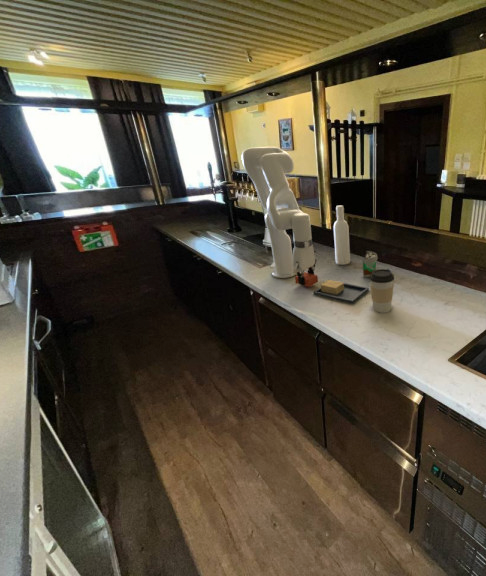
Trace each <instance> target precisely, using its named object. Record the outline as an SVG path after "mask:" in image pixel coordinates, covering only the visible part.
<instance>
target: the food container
mask: <svg viewBox="0 0 486 576" xmlns="http://www.w3.org/2000/svg"><path fill="white" fill-rule="evenodd" d="M378 259H379V257H378V254H377V253H376V252H374V251H370V250H366V253H365V255H364V258H362V273H363V278H370V275H371V274H372V273H373V271H375V270H377V261H378Z"/></svg>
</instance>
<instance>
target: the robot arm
mask: <svg viewBox="0 0 486 576" xmlns="http://www.w3.org/2000/svg"><path fill="white" fill-rule="evenodd" d="M241 161H242V166H243V168H244V171H245V173H246V174H247V176H248V177H249V179H250V180H251V181H252V183H253V185H254V189H255V191H256V194H257V196H258V198H259V201H260V204H261V206H262V207H263V208H264V209H265V210H267V212H266V214H265V215H264V222H265V226H266V229H267V232H268V237H269V241H270V247H271V254H272V259H273V262H272V263H271V264H270V266H269V267H270V269H273V271H272V277H274V278H276V279H288V278H292V277H295V276H298V282H299V284H298V285H301V286H304V285H305V278H304V277H303V275H304V272H305V271H306V270H307V273H310V274H314V275H315V270H316V269H315V268H316V264H317V262H318V260H317V258H316V255H315V250H314V249H315V248H314V246H313V240H312V239H313V237H312V227H311V226H312V225H311V216H310V214H308V213H306V212H303V210H301V209H300V207H299V203H298V201H297V199H296V196H295V194H294V191H293V190H292V189H291V188H290V183H289V181H288V179H287V175H286V174H290V173H292V172H293V171H294V167H295V166H294V165H295V164H294V160H293V158H292V156H291V155H290V154H289V153H288V152H287V151H285V150H284V149H282V148H280V147H278V146H255V147H249V148H248V147H247V148H246V149H244V150H243V151H242V154H241ZM291 229H292V235H293V236H292V237H293V238H292V239H293V246H294V247H292V240H291V237H290V235H289V234H287V232H286V230H291Z"/></svg>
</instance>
